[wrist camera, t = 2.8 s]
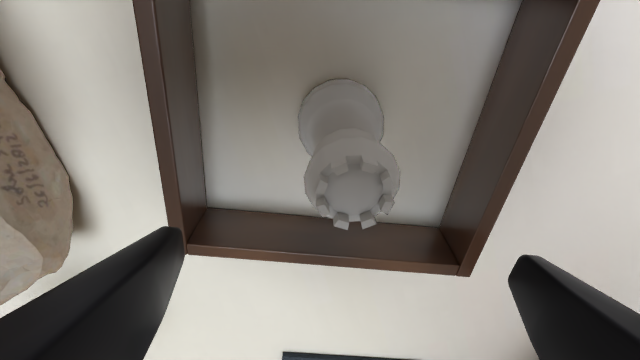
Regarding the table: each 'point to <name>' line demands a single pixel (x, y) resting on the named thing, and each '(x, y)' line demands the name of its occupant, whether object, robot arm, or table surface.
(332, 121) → the rook chess piece
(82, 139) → the table surface
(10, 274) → the decorative stone
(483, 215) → the crate
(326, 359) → the mat
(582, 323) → the robot arm
